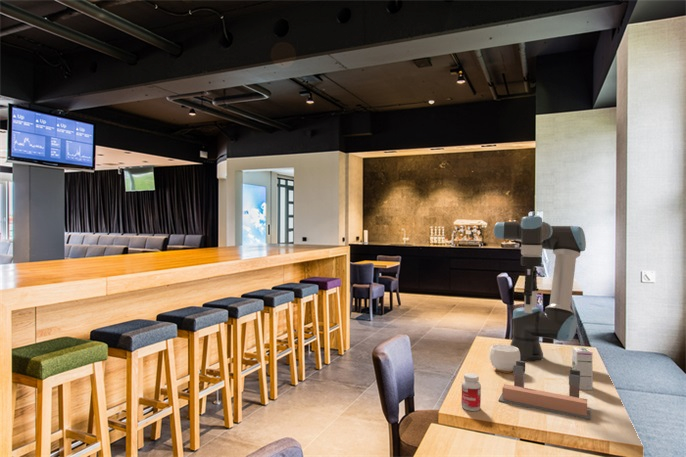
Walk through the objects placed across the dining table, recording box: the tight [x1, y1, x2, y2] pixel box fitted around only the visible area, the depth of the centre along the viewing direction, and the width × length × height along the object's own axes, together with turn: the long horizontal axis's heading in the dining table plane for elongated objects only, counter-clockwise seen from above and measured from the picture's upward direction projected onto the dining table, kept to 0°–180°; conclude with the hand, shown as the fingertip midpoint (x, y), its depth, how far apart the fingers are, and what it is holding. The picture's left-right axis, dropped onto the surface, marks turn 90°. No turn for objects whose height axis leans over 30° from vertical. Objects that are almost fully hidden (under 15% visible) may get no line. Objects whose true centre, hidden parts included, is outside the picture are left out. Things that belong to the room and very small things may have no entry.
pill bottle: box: [461, 372, 482, 412], centre depth 146 cm, size 6×6×11 cm
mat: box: [498, 393, 592, 421], centre depth 147 cm, size 7×28×1 cm, turn 60°
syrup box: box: [571, 346, 594, 391], centre depth 166 cm, size 6×6×14 cm
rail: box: [501, 383, 588, 416], centre depth 147 cm, size 4×26×4 cm, turn 60°
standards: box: [512, 360, 580, 398], centre depth 155 cm, size 7×23×11 cm, turn 60°
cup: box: [489, 343, 521, 374], centre depth 184 cm, size 12×12×10 cm
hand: (530, 309), depth 170 cm, fingers open, 13 cm apart
